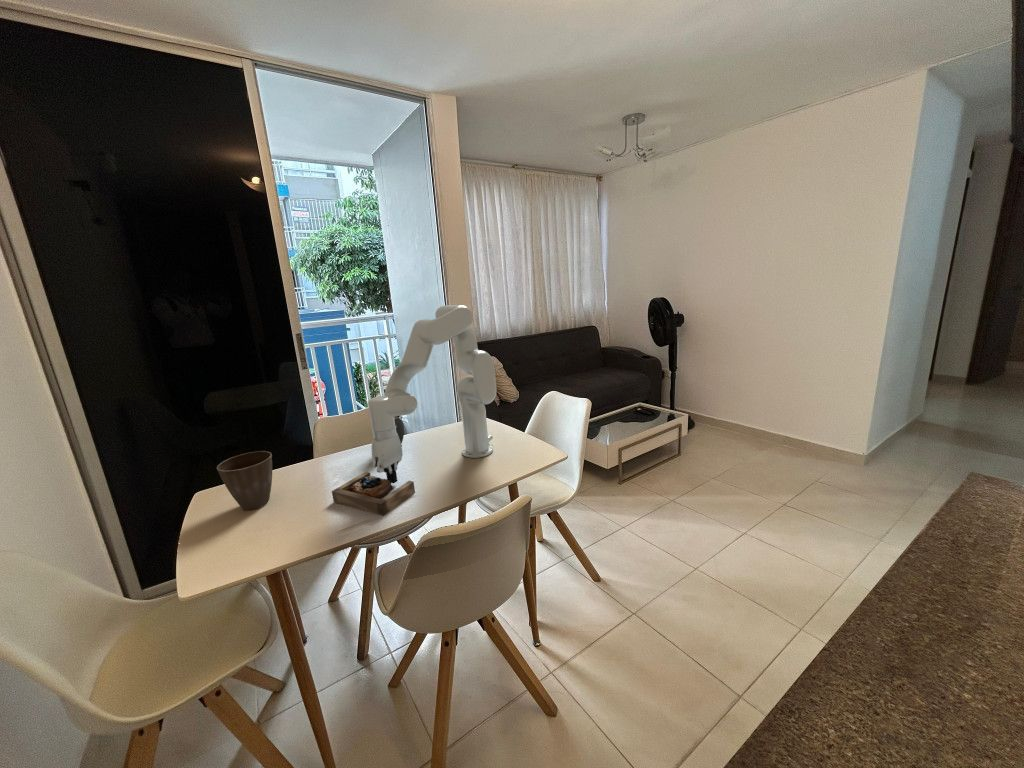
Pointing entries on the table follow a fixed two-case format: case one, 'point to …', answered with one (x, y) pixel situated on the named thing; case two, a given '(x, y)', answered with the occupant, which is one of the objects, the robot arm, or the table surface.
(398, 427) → the alarm clock
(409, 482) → the wooden u-shaped frame
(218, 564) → the table surface
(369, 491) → the pastry
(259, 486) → the plant pot
